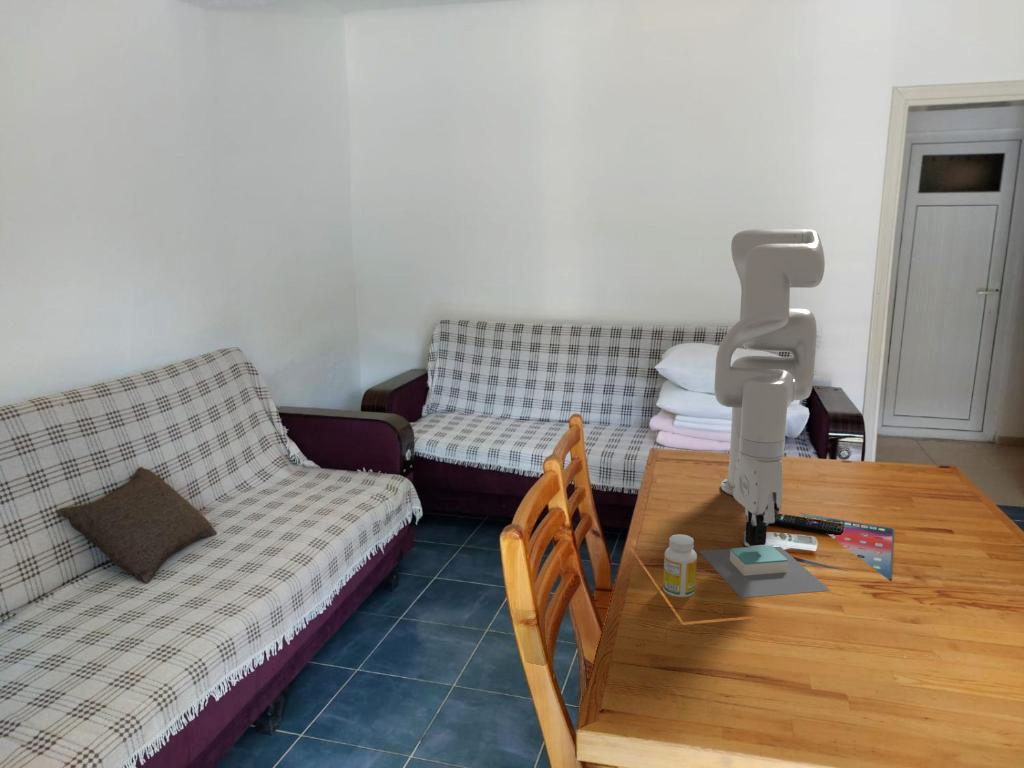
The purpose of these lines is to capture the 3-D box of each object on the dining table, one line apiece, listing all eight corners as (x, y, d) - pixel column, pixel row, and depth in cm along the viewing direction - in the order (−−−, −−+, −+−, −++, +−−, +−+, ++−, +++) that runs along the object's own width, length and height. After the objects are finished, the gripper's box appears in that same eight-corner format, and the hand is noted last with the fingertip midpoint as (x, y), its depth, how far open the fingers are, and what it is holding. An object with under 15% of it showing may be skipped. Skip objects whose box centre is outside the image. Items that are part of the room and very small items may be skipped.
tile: (730, 548, 137) (745, 563, 131) (771, 545, 138) (787, 559, 132) (729, 560, 137) (744, 575, 132) (770, 557, 139) (786, 572, 133)
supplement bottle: (666, 599, 125) (668, 546, 123) (660, 583, 130) (662, 532, 128) (698, 599, 125) (701, 545, 123) (691, 583, 130) (693, 532, 128)
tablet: (894, 531, 151) (894, 527, 151) (891, 584, 130) (891, 579, 130) (794, 515, 160) (794, 511, 160) (776, 562, 138) (776, 558, 138)
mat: (699, 553, 142) (699, 551, 141) (778, 547, 144) (778, 545, 144) (740, 600, 124) (740, 597, 124) (830, 592, 126) (830, 590, 126)
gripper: (723, 436, 138) (718, 528, 142) (761, 461, 124) (754, 563, 128) (762, 434, 139) (756, 525, 143) (803, 459, 125) (795, 560, 129)
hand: (755, 543), depth 136 cm, fingers closed
